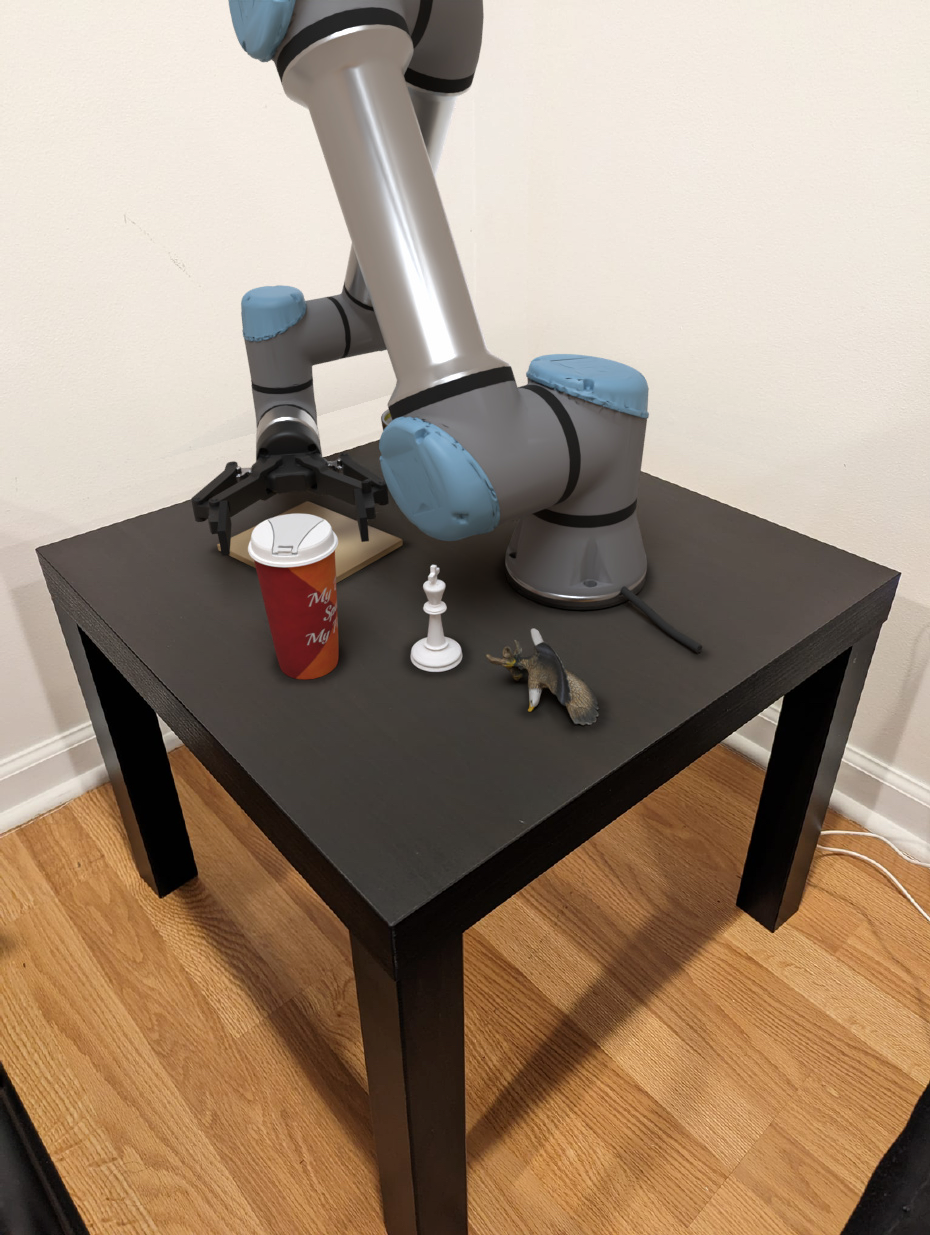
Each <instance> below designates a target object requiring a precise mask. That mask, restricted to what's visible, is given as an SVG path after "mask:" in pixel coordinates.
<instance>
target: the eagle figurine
mask: <svg viewBox="0 0 930 1235" xmlns="http://www.w3.org/2000/svg"><path fill="white" fill-rule="evenodd" d="M530 637H531V640H532V644H533V655H532V656H522V652H523V648H522V647H521V645H520V642H519V641H518V640H516V639H513V644H514V645H515V649H514V651H513V652H512V649H511V647H510V646H505V647H503V649H502V658H499V657H495V656H493V655H491V654H488V653H487V654H486V655H485V658H486V659H487V660H488V662H489V663H491V664H493V665H496V666H501V667H503V668H506V670H507V671H509V672H510V674H511V675H510V676H511V677H512V678H513V679H514V681H516V682H519V681H520V680H521V679H522V678H525V677H527V688H528V702H529V704H528V705H529V706H528V708H527V712H529V713H531V712H532V711H534V709H535V708H536V707H537V706H539V705H538V704H539V703H540V698H541V694H542V692H543V689H549V690H550V692H551V693H552V694H553V695H555V696H556V697H557V700H558V701H559V703H560V704H561V705H562V706H564V707H566V709H567V712H568V714H569V717H570V718H571V720H572V722H573V724H575V725H578V724H579V725H581V726H585V725H588V726H591V725H593V723H596V722H597V718H598V717H599V715H600V713H599V711H598V710H599V709H600V708H599V706H598V705H599V702H598V700H597V697H596V696H595V693H594V692H593V691H592V688H591V687H590V686H588V684H587V683H586V682H585V680H583V679H582V678H581V677H580V676H579V675H578V674H576V673H574V671H571V670H570V669H568V668H567V667H565V665H564V663H563V661H562V659H561V657H560V655H559V654H558V652H557V651H556V650H555V649H554V648H553V647H552V646H551V645H550V644H549V643H548V642H546V641H544V639H543V637H542V635H541V633H540V631H539V630H538V629H536V628H535V627H534V628H531V629H530ZM520 668H522V669H520Z"/></svg>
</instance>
